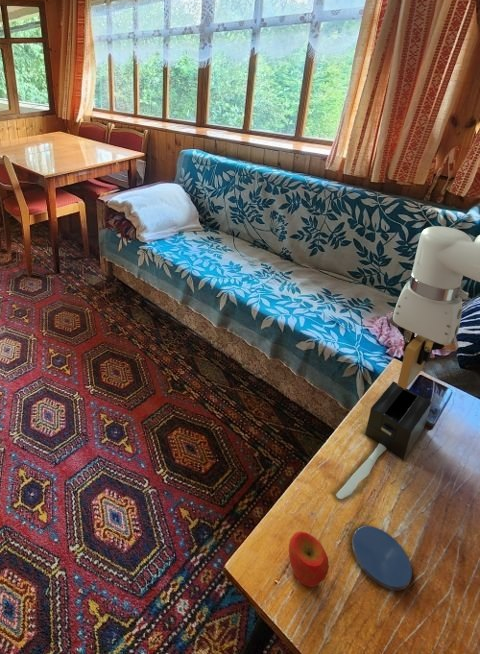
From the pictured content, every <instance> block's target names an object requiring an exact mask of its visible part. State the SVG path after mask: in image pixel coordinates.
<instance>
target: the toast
mask: <svg viewBox="0 0 480 654" xmlns="http://www.w3.org/2000/svg"><path fill="white" fill-rule="evenodd" d="M426 339H427V338H425V337H423V336H420V335H418V334H416V335H415V338H414V339H413V340H412V341H411V342H410V343H409V344H408V346H407V347H406V350H405V351H404V355H403V358H402V364H401V368H400V372H399V375H398V380H397V385H398V386H400V387H402V388H404V389H408V388H409V386H410V385H411V384H412V383H413V381H415V379H416V378H417V377H418V376H419V374H420V373H421V372H422V370H423V369H424V366H425V363H426V361H424V362H423V363H422V364H421V365H419V364H418V363H417V361H418V357H419V353H420V349H421V348H422V347H423V345H424V344H425V342H426Z"/></svg>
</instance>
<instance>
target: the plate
mask: <svg viewBox="0 0 480 654" xmlns="http://www.w3.org/2000/svg"><path fill="white" fill-rule="evenodd" d="M351 549H352V552H353V556H354V558H355V560H356V563H357V564H358V566H359V567H360V569H361V570H362V571H363V572H364V573H365V574H366V576H367V577H368V578H369V579H371V580H372V581H373V582H374V583H376V584H377V585H379V586H381V587H382V588H384V589H386V590H389V591H395V592H397V591H399V592H400V591H404V590H405V589H407V588H408V586H410V583H411V580H412V577H413V569H412V565H411V561H410V559H409V557H408V555H407V553H406V552H405V550H404V548H403V547H402V546H401V545H400V543H399V542H398V541H397V540H396V539H395V538H394V537H392V536H391V535H390V534H388V533H387V532H386V531H384V530H382V529H380V528H379V527H375V526H370V525H364V526H361V527H358V528H357V529H356V530H355V531H354V533H353V536H352V541H351Z"/></svg>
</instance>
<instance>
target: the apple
mask: <svg viewBox="0 0 480 654" xmlns="http://www.w3.org/2000/svg"><path fill="white" fill-rule="evenodd" d="M288 554H289V561H290V567H291V570H292V572H293V574H294V576H295V577H296V579H297V580H298V581H299V583H300V584H302V585H303V586H305V587H308V588H309V587H310V588H312V587H315V586H318V585H319V584H321V583H322V582H323V581H324V580H325V579H326V577H327V575H328V573H329V568H330V563H329V557H328V554H327V553H326V550H325V549H324V546H323V544H322V542H320V541H319V540H318V539H317V538H316V537H315V536H314V535H312V534H311V533H308V532H306V531H301V530H299V531H296V532H295V533H293V535H292V536H291V538H290V540H289V544H288Z"/></svg>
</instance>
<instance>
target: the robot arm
mask: <svg viewBox="0 0 480 654" xmlns="http://www.w3.org/2000/svg"><path fill="white" fill-rule="evenodd" d="M418 239H419V240H418V244H417V248H416V254H415V257H414V262H413V266H412V270H411V274H410V279H409V281H406V283H405V285H404V286H403V287H402V290H401V292H400V295H399V297H398V299H397V302H396V304H395V308H394V311H393V314H392V315H391V317H389V319H388V320H387V321H388V323H389V324H390V325H392V326H393V327H394V328H396V329H397V330H398V332H399V333H400V334H401V336H402V338H403V341H404V344H403V348H402V349H403V350H402V351H403V352H405V350H406V347H407V346H408V344H409V343H410V342H411V341H412V340H413V339H414V338H415V337H416V335H420V336H423V337H425V338H427V339H426V342H425V344H424V345H423V347H422V348H421V349H420V353H419V357H418V361H417V363H418V364H419V365H421V364H422V363H423V362H424V361H425V363H428V362H429V360H430V359H431V354H432V352H433V351H438V350H446V351H449V352H450V351H451V352H457V350H458V349H459V343H458V339H457V336H458V333H459V329H460V325H461V320H462V316H463V315H462V313H463V299H465V300H467V299H468V297H469V295H470V293H469V292H467V291H465V290H463V289H462V281H463V277H466V278H468V279H471V280H473V281H475V282H478V283H480V234H479V235H477V236H476V238H475V240H474V241H473V240H472V238H471V236H470V235H469V234H468V233H466V232H464V231H462V230H460V229H457V228H453V227H450V226H449V227H448V226H442V225H441V226H439V225H434V226H429V227H426V228H425V229H423V230H422V231H421V233H420V235H419V238H418Z"/></svg>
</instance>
